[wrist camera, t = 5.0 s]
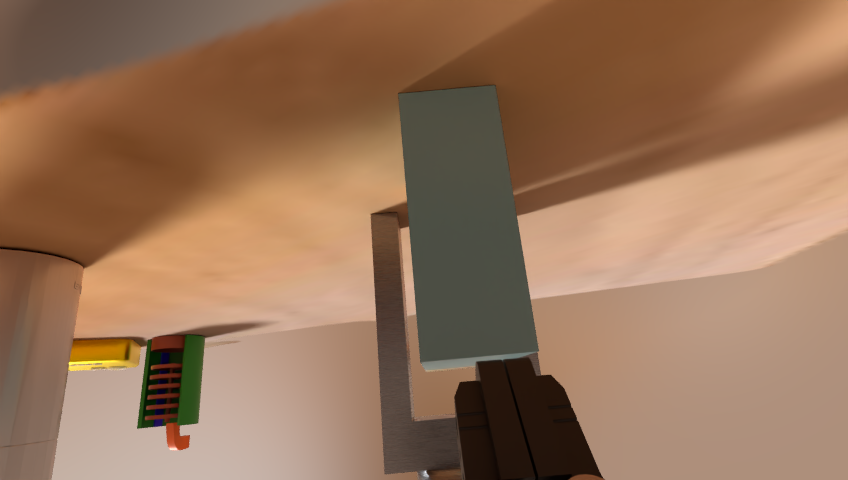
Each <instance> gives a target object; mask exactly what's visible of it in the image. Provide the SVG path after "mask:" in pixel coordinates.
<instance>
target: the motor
mask: <svg viewBox="0 0 848 480" xmlns="http://www.w3.org/2000/svg"><path fill="white" fill-rule="evenodd" d="M204 344H205V337H203V336H198V335H185V336H183V335H173V336H159V337H154V338H152V340H148V342H147V351H146V359H145V367H144V376H143V384H142V392H141V402H140V409H139V417H138V418H139V419H138V426H137V428H148V427H158V426H166V430H167V431H166V433H167V444H168V447H169V449H170V450H183V449H186V448H188V447H189V439H190V435H188V436H180V433H179V430H180V429H179V428H180V425H189V424H196V423H198V419H199V407H200V393H201V381H202V369H203V356H204Z"/></svg>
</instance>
